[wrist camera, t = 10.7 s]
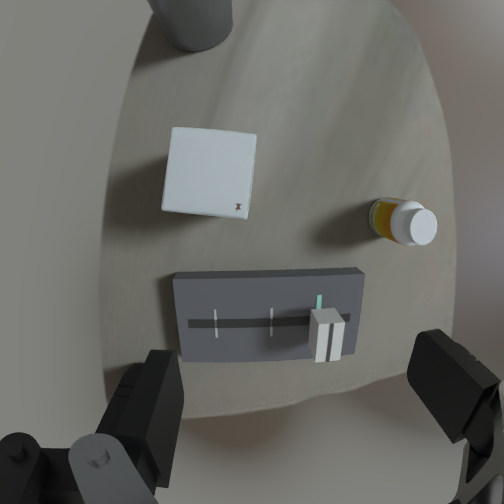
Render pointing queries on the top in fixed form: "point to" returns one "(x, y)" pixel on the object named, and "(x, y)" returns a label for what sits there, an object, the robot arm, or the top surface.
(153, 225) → the top surface
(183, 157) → the supplement box
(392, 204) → the supplement bottle
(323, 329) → the fader knob
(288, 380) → the top surface
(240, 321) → the console
